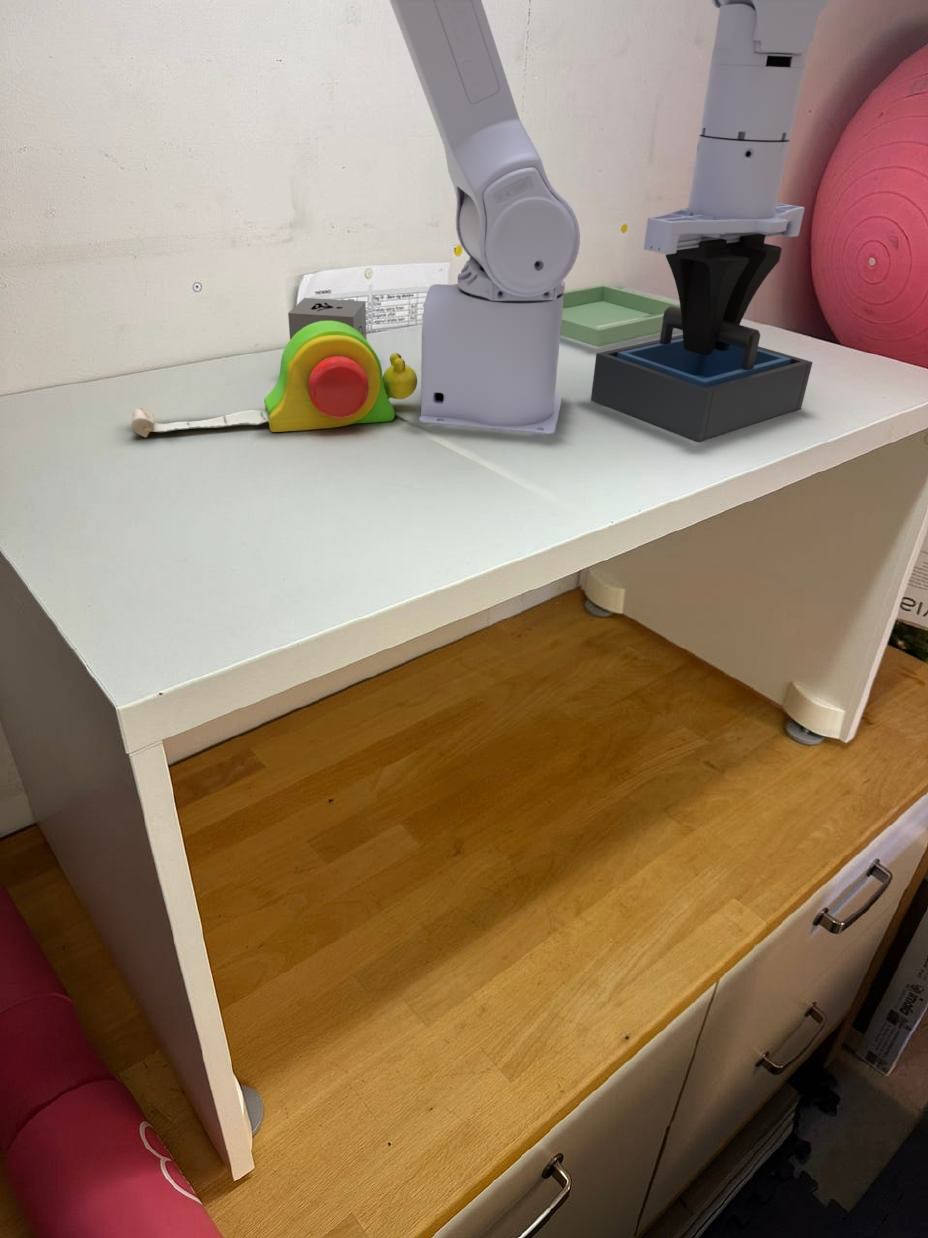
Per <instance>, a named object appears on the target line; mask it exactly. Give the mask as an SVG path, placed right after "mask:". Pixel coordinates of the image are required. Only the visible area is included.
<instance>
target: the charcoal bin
mask: <svg viewBox="0 0 928 1238" xmlns="http://www.w3.org/2000/svg"><path fill="white" fill-rule="evenodd" d="M681 338H683V333H682V334H678V335H674V336H673V335H672V339H671V341H672V340H676V339H681ZM658 343H660V338H658V339H656V340H655V339H654V340H650V341H646V342H641V343H637V344H632V345H629V346H623V347H618V348H614V349H610V350H605V351H602V352H596V354H595V361H594V369H593V370H594V371H593V377H592V386H591V387H592V388H591V395H590V402H591V401H592V402H593V403H596V404H598V405H602V406H604V407H607V408H609V409H611V410H614V411H616V412H618V413H621V414H624V415H627V416H629V417H632V418H635V419H637V420H638V421H639V420H640V421H642V422H645V423H647V424H650V425H652V426H655V427H657V428H660V429H663V430H664V431H667V432H670V433H673V434H675V435H677V436H680V437H682V438H686V439H688V440H691V441H693V442H695V443H701V442H704V441H707V440H710V439H712V438H717V437H720V436H723V435H725V434H726V435H727V434H729V433H733V432H735V431H738V430H741V429H744V428H748V427H750V426H753V425H757V424H760V423H763V422H766V421H768V420H771V419H774V418H778V417H780V416H784V415H786V414H787V415H788V414H790V413H793V412H796V411H799V410H801V409H802V407H803V406H802V405H803V402H804V400H805V399H804V398H805V395H806V391H807V386H808V383H809V379H810V375H811V371H812V366H813V364H814V363H813V361H811V360H807V359H804V358H801V357H797V356H793V355H790V354H786V353H783V352H779V351H776V350H773V349H768V348H766V347H762V346H759V345H758V349H760V350H763V351H767V352H770V353H774V354H777V355H780V356H784V357H787V358H791V362H790V365H787V366H783V367H780V368H776V369H772V370H769V371H765V372H762V373H758V374H754V375H751V376H747V377H744V378H740V379H736V380H733V381H729V382H725V383H722V384H718V385H715V386H711V387H707V388H705V387H702V386H699V385H696V384H694V383H691V382H688V381H685V380H682V379H679V378H676V377H673V376H670V375H667V374H664V373H661V372H658V371H655V370H652V369H649V368H647V367H644V366H641V365H638V364H635V363H632V362H629V361H626V360H623V359H620V358H617V354H618V352H623V351H627V350H631V349H636V348H640V347H645V346H649V345H654V344H658Z"/></svg>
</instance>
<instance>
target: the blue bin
mask: <svg viewBox="0 0 928 1238" xmlns="http://www.w3.org/2000/svg"><path fill="white" fill-rule="evenodd" d="M673 328H674V329H676V330H680V331H683V330H682V318H681V309H680V308H677V307H673V306H670V307H668V308H667V309H666V310H665V311H664V315H663V323H662V330H661V332H660V337H659V339H660V343H658V344H654V345H649V346H645V347H640V348H636V349H631V350H627V351H623V352H618V354H617V358H620V359H623V360H626V361H629V362H632V363H635V364H638V365H641V366H644V367H647V368H649V369H652V370H655V371H658V372H661V373H664V374H667V375H670V376H673V377H676V378H679V379H682V380H685V381H688V382H691V383H694V384H696V385H699V386H702V387H705V388H707V387H711V386H715V385H718V384H722V383H725V382H729V381H733V380H736V379H740V378H744V377H747V376H751V375H754V374H758V373H762V372H765V371H769V370H772V369H776V368H780V367H783V366H787V365H790V362H791V358H787V357H784V356H780V355H777V354H774V353H770V352H767V351H763V350H760V349H758V346H759V344H760V339H761V332H760V330H758V329H757V328H753V327H748V326H745V325H742V324H740V325H738V324H735V323H731V322H728V321H724V320H723V321H722V324H721V328H720V332H719V336H718V339H717V341H720V342H724V343H727V344H730V346H729V348H728V350H726V351H719V350H716V349H713V351H712V354H710V355H701V354H698V353H695V352H692V351H688V350H685V349H684V343H683V338H681V339H676V340H672V341H671V339H672V337H673V332H674V329H673Z"/></svg>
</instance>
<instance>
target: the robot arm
mask: <svg viewBox="0 0 928 1238" xmlns="http://www.w3.org/2000/svg"><path fill="white" fill-rule="evenodd" d="M831 1H832V0H711V3H712V4H713V7H716V8H717V9H718V11H719V12H718V17H717V24H716V30H715V36H714V42H713V50H712V52H711V54H712V55H711V59H710V60H711V61H710V66H709V70H708V71H709V72H708V78H707V84H706V91H705V98H704V104H703V110H702V116H701V123H700V129H699V135H698V141H697V145H696V146H697V147H696V154H695V160H694V166H693V173H692V179H691V185H690V190H689V191H690V192H689V198H688V205H687V207H684V208H681V209H678V210H675V211H671V212H668V213H666V214H662V215H657V216H651V217H647V222H646V229H645V236H644V243H643V250H644V251H649V252H654V253H659V254H662V255H665V258H666V260H667V263H668V266H669V267H670V270H671V273H672V276H673V279H674V282H675V286H676V290H677V294H678V300H679V304H680V309H681V318H682V330H681V331H682V334H683V343H684V349H685V350H688V351H692V352H695V353H698V354H701V355H710V354H712V351H713V349H716V350H719V351H726V350H728V348H729V346H730V344H727V343H724V342H720V341H717V339H718V336H719V332H720V328H721V324H722V321H723V320H724V321H728V322H731V323H735V324H738V325H741V322H742V320H743V318H744V316H745V314H746V313H747V310H748V307H749V305H750V303H751V302H752V300H753V298H754V297H755V295H756V293H757V291H758V290H759V288H760V287H761V285H762V284H763V282H764V281H765V279H766V278H767V277H768V276H769V274H770V273H771V272H772V270H773V269H774V268H775V267H776V266H777V265H778V263H779V262H780V260H781V255H782V250H783V248H782V247H781V246H778V245H774V244H769V243H765V240H766V239H768V238H775V237H782V236H783V237H786V238H793V237H799V236H800V232H801V226H802V222H803V217H804V213H805V209H806V208H805V207H804V206H798V205H792V204H787V203H786V204H785V203H778V202H779V201H778V200H779V195H780V191H781V186H782V181H783V177H784V173H785V167H786V161H787V157H788V152H789V149H790V143H791V139H792V133H793V129H794V124H795V119H796V114H797V110H798V105H799V99H800V94H801V91H802V85H803V81H804V76H805V72H806V67H807V61H808V57H809V51H810V46H811V44H813V41H814V40H813V39H814V35H815V30H816V26H817V22H818V19H819V17H820V15H821V14H822V12H823V10H824V9H825V8H826V7H827V6H828V4H830V2H831ZM389 2H390V6H391V8H392V11H393V12H394V16H395V19H396V21H397V24H398V27H399V30H400V33H401V35H402V37H403V40H404V43H405V45H406V48H407V51H408V53H409V56H410V59H411V61H412V64H413V67H414V70H415V72H416V76H417V78H418V80H419V83H420V86H421V88H422V90H423V94H424V96H425V99H426V102H427V104H428V107H429V110H430V112H431V115H432V118H433V121H434V123H435V125H436V129H437V131H438V134H439V136H440V139H441V141H442V144H443V148H444V152H445V158H446V165H447V171H448V175H449V177H450V180H451V182H452V183H451V184H452V185H453V190H454V192H455V198H456V199H455V200H456V212H455V231H456V235H457V238H458V241H459V243H460V245H461V247H462V249H463V251H464V252H465V253H466V255H468V257H469V258H468V260H467V261H466V262H465V264H464V266H463V267H462V269H461V270H460V273H458V274H457V283H455V284H444V283H443V284H441V283H439V284H436V283H435V284H431V285H430V286H429V287H428V290H427V293H426V296H425V300H424V306H423V314H422V323H421V325H422V326H421V359H420V361H421V363H420V364H421V367H420V369H421V372H420V417H419V418H418V421H419V423H422V424H428V425H429V424H430V425H439V426H451V427H463V428H473V429H482V430H483V429H485V430H495V431H506V432H517V433H527V434H538V435H539V434H540V435H554V434H555V433H556V429H557V424H558V419H559V415H560V410H561V405H562V401H563V397H562V396H561V395H558V394H556V385H557V376H558V363H559V353H560V343H561V335H560V333H561V322H562V311H563V301H564V291H566V290H565V289H566V282H565V281H564V280H565V279H566V278H567V277H568V275H569V274H570V272H571V271H572V269H573V267H574V265H575V263H576V260H577V258H578V254H579V249H580V245H581V233H580V225H579V222H578V218H577V216H576V214H575V212H574V209H573V208H572V207H571V205H570V204H569V202H567V200H566V199H565V198H563V197H562V195H560V194H559V193H558V192H557V191H556V189H555V188H554V187H553V186H552V184H551V182H550V180H549V178H548V176H547V173H546V170H545V168H544V164H543V162H542V158H541V156H540V154H539V152H538V150H537V149H536V146H535V144H534V143H533V141H532V139H531V138H530V136H529V134H528V132H527V130H526V128H525V126H524V125H523V123H522V121H521V119H520V116H519V112H518V110H517V107H516V104H515V101H514V97H513V93H512V92H511V88H510V85H509V82H508V79H507V75H506V73H505V70H504V66H503V63H502V59H501V57H500V54H499V51H498V48H497V44H496V41H495V39H494V35H493V32H492V30H491V25H490V23H489V20H488V16H487V13H486V10H485V7H484V4H483V1H482V0H389Z"/></svg>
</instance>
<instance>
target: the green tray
mask: <svg viewBox="0 0 928 1238" xmlns="http://www.w3.org/2000/svg"><path fill="white" fill-rule="evenodd" d="M670 306H673V307H677V308H680V303H678V302H673V301H669V300H665V299H661V298H657V297H654V296H650V295H646V294H642V293H638V292H634V291H630V290H626V289H622V288H618V287H614V286H611V285H607V284H598V285H593V286H587V287H581V288H576V289H570V290H564V301H563V311H562V322H561V333H560V336H563V337H565V338H568V339H573V340H576V341H579V342H582V343H585V344H588V345H591V346H594V347H602V346H606V345H610V344H614V343H620V342H623V341H626V340H631V339H636V338H640V337H644V336H648V335H652V334H657V333H661V330H662V323H663V315H664V311H665V310H666V309H667V308H668V307H670ZM623 321H624V322H623ZM620 322H621V323H620ZM609 324H611V325H609ZM599 326H601V327H599ZM673 330H675V328H673Z"/></svg>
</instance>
